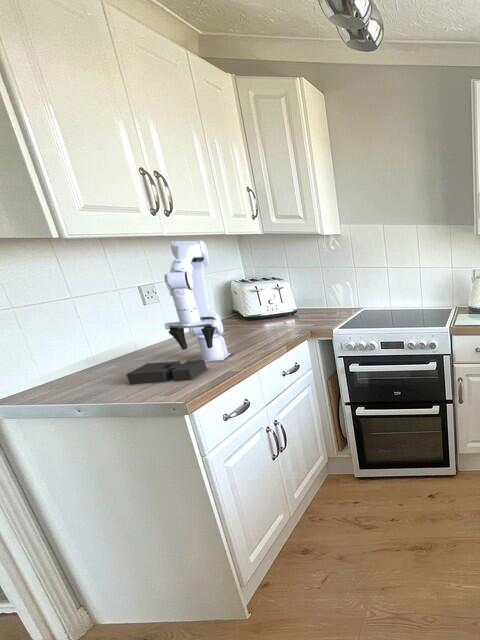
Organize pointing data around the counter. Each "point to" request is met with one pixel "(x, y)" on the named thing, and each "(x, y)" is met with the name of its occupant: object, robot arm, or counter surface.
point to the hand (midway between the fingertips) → (197, 348)
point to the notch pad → (151, 373)
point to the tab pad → (187, 370)
